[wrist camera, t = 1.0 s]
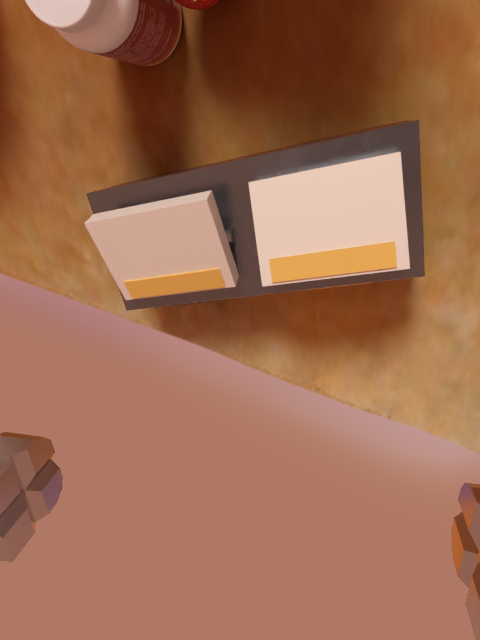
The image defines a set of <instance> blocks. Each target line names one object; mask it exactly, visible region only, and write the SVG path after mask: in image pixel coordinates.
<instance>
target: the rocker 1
mask: <svg viewBox="0 0 480 640" xmlns="http://www.w3.org/2000/svg"><path fill="white" fill-rule="evenodd" d="M84 224H85V226H86V228H87V230H88V231H89V233H90V235H91V237H92V239H93V241H94V242H95V244H96V246H97V248H98V250H99V252H100V253H101V255H102V257H103V259H104V261H105V263H106V265H107V266H108V268H109V270H110V272H111V274H112V276H113V277H114V279H115V281H116V283H117V285H118V287H119V289H120V290H121V292H122V294H123V296H124V298H125V300H132V299H141V298H149V297H157V296H165V295H173V294H181V293H189V292H197V291H205V290H214V289H222V288H230V287H236V284H237V281H238V277H239V274H238V271H237V267H236V264H235V261H234V258H233V255H232V252H231V249H230V246H229V242H228V239H227V236H226V233H225V230H224V227H223V224H222V221H221V217H220V214H219V211H218V208H217V205H216V202H215V199H214V196H213V192H212V190H210V191H205V192H200V193H195V194H190V195H186V196H181V197H176V198H171V199H166V200H161V201H156V202H151V203H146V204H141V205H136V206H131V207H126V208H121V209H116V210H111V211H106V212H101V213H96V214H93V215H92V216H91V217H90V218H89V219H88V220H87V221H86V222H85V223H84Z"/></svg>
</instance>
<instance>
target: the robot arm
mask: <svg viewBox="0 0 480 640" xmlns="http://www.w3.org/2000/svg"><path fill="white" fill-rule="evenodd" d="M54 453H55V451H54V448H53V445H52V442H51V440H50V439H47V438H44V437H39V436H31V435H23V434H16V433H9V432H0V560H2V561H9V562H13V561H14V559H15V558H16V557H17V555H18V554H19V553H20V551H21V550H22V549H23V547H24V546H25V545H26V543H27V542H28V541H29V539H30V538H31V537H32V535H33V534H34V533H35V522H36V521H38V520H39V519H41V518H43V517H44V516H46V515H48V514H49V513H50V511H51V510H52V508H53V507H54V506H55V504H56V503H57V501H58V498H59V495H60V492H61V490H62V474H61V471H60V468H59V467H58V466H57V465H56V464H55V463H54V462H53V461H52V460H51V459H52V457H53V455H54ZM458 500H459V503H460V506H461V509H462V513H460V514H459V515H457V516H456V517H455V518H454V521H453V527H452V552H453V559H454V563H455V567H456V571H457V575H458V577H459V578H460V579H461V580H462V581H463V582H464V583H465V584H466V585H467V586H468V587H469V591H468V595H467V599H466V607H467V610H468V614H469V617H470V621H471V624H472V628H473V631H474V635H475V638H476V640H480V484H470V483H464V484H463V486H462V487H461V490H460V494H459V498H458Z"/></svg>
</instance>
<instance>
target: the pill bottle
mask: <svg viewBox="0 0 480 640" xmlns="http://www.w3.org/2000/svg"><path fill="white" fill-rule="evenodd" d="M25 1H26V3H27V5H28V6H29V8H30V9H31V10H32V12H33V13H34V14H35V15H36V16H37V17H38V18H39V19H40V20H41V21H43V22H44V23H46V24H47V25H49V26H51V27H54V28H55V29H56V30H57V31H58V33H59V34H60V35H61V36H62V37H63V38H64V39H65V40H66V41H68V42H69V43H70V44H72V45H73V46H75V47H77V48H79V49H81V50H84V51H87V52H90V53H94V54H98V55H102V56H106V57H110V58H113V59H117V60H121V61H124V62H128V63H132V64H135V65H140V66H152V65H156V64H159V63H161V62H162V61H164V60H165V59H167V58H168V57H169V56H170V55H171V53H172V52H173V51H174V49H175V47H176V45H177V43H178V40H179V37H180V33H181V27H182V14H181V7H180V4H178V3H177V2H175V1H174V0H25Z"/></svg>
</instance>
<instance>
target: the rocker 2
mask: <svg viewBox="0 0 480 640" xmlns="http://www.w3.org/2000/svg"><path fill="white" fill-rule="evenodd" d="M248 184H249V191H250V199H251V206H252V214H253V221H254V229H255V236H256V244H257V251H258V258H259V266H260V273H261V281H262V287H263V286H272V285H280V284H288V283H296V282H305V281H313V280H321V279H329V278H338V277H346V276H354V275H363V274H371V273H379V272H387V271H396V270H404V269H410V261H409V249H408V237H407V224H406V212H405V200H404V188H403V175H402V163H401V152H396V153H391V154H386V155H381V156H376V157H371V158H366V159H361V160H357V161H352V162H347V163H342V164H337V165H332V166H327V167H322V168H317V169H312V170H307V171H302V172H297V173H292V174H287V175H282V176H277V177H272V178H267V179H262V180H258V181H253V182H248Z"/></svg>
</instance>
